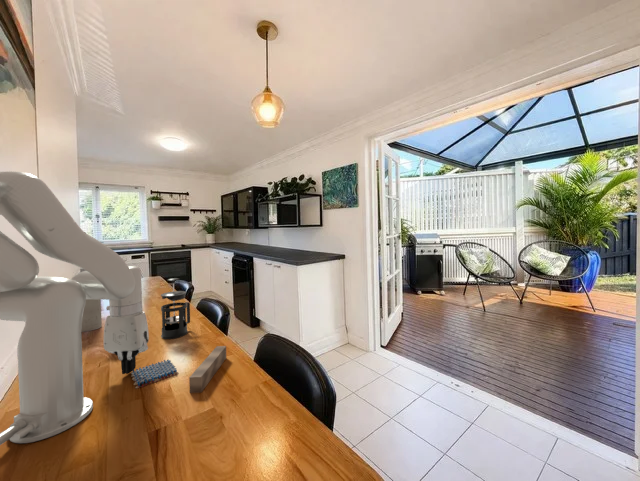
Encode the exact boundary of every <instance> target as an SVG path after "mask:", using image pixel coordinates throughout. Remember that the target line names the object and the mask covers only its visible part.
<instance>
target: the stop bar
mask: <svg viewBox="0 0 640 481" xmlns="http://www.w3.org/2000/svg"><path fill="white" fill-rule="evenodd" d="M226 359H227V346H226V345H216V347H214V349H213V350H212V351H211V352H210V353H209V355H207V357H206V358H205V359H204V360H203V361H202V362H201V364H200V365H199V366H198V367H197V368H196V369H195V370H194V371H193V373H192V374H191V375H190V376H189V378H188V380H189V382H188V383H189V393H190V394H191V393H192V394H194V393H203V391H204V390H205V388H206V387H207V386H208V384H209V383H210V382H211V380H212V379H213V377H214V376H215V375H216V373H217V372H218V370H220V368H221V366H222V365H223V364H224V362H225V361H226ZM224 360H225V361H224Z"/></svg>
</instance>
